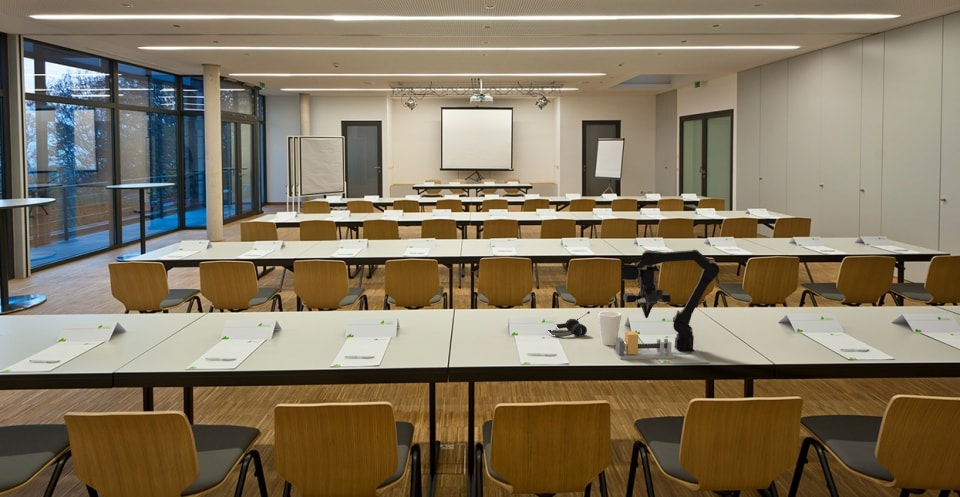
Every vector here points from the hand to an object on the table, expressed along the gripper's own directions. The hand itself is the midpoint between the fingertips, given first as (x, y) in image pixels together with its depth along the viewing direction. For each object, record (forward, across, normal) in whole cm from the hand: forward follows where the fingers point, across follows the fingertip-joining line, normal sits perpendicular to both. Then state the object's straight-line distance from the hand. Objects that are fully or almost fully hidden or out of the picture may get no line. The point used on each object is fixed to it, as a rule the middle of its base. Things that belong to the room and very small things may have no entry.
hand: (646, 317), depth 301 cm
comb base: (+12, -4, -12) cm, 18 cm away
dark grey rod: (+10, -4, -12) cm, 16 cm away
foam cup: (+13, -14, +6) cm, 20 cm away
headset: (+13, -28, +24) cm, 39 cm away
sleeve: (+11, -9, -12) cm, 19 cm away
